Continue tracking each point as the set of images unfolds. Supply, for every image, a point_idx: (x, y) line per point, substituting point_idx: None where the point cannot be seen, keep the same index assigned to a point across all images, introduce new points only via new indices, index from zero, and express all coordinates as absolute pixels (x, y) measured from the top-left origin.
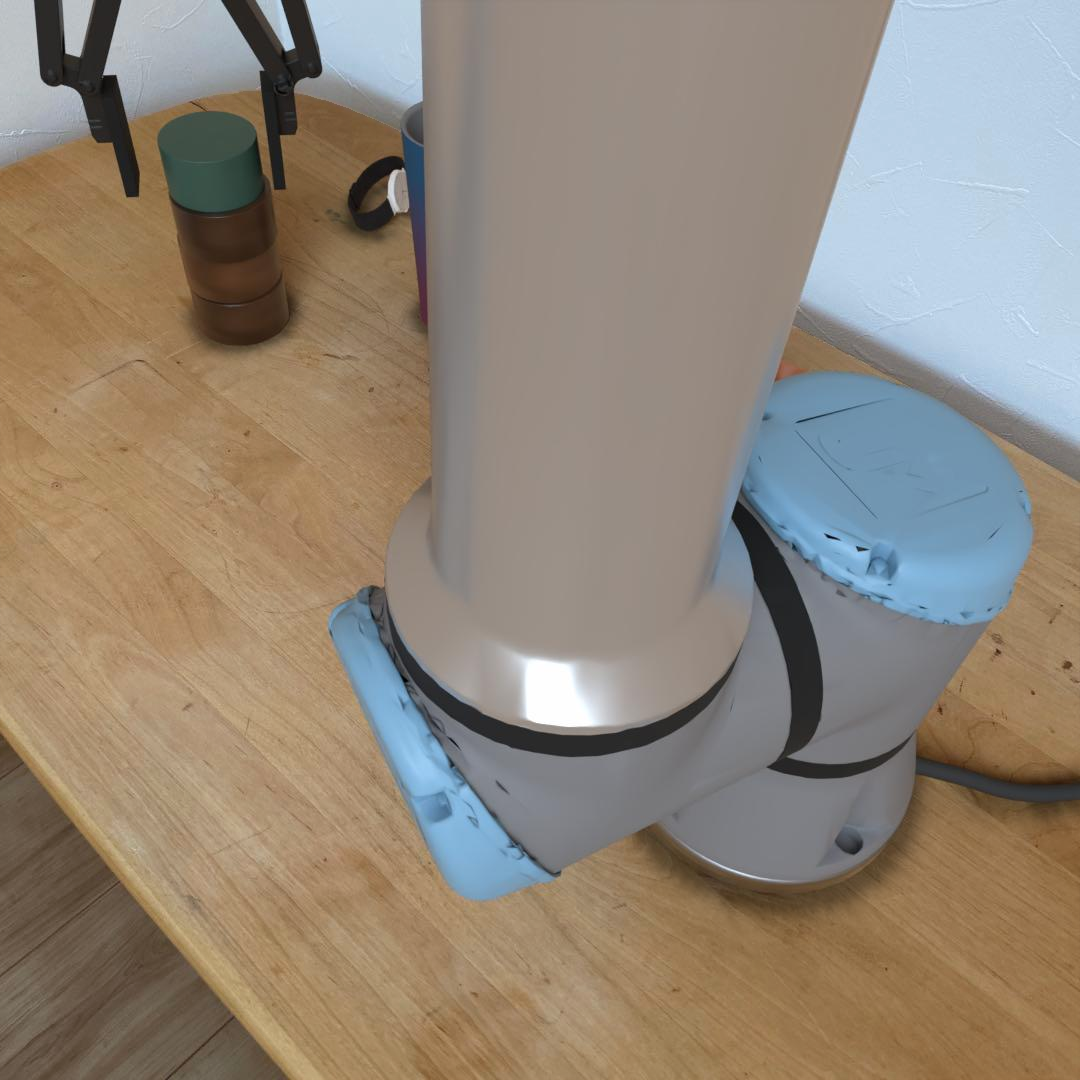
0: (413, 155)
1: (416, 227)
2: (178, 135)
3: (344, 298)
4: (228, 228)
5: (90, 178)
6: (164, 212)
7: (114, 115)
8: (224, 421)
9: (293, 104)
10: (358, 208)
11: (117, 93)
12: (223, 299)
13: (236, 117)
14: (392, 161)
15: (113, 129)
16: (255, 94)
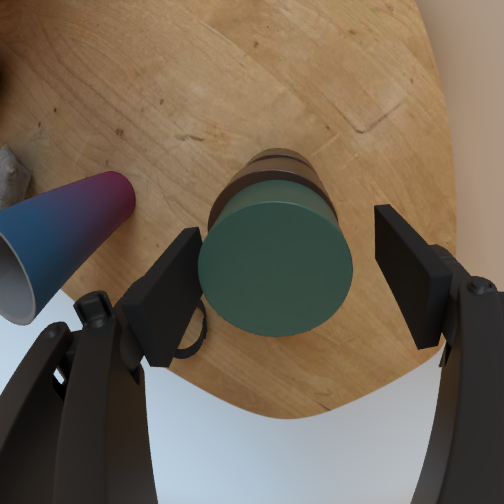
0: (20, 235)
1: (78, 209)
2: (320, 278)
3: (196, 213)
4: (256, 168)
5: (400, 346)
6: (352, 316)
7: (424, 258)
8: (277, 56)
9: (118, 303)
10: (203, 318)
11: (419, 308)
12: (284, 157)
13: (238, 322)
14: (180, 355)
15: (421, 245)
16: (292, 417)
